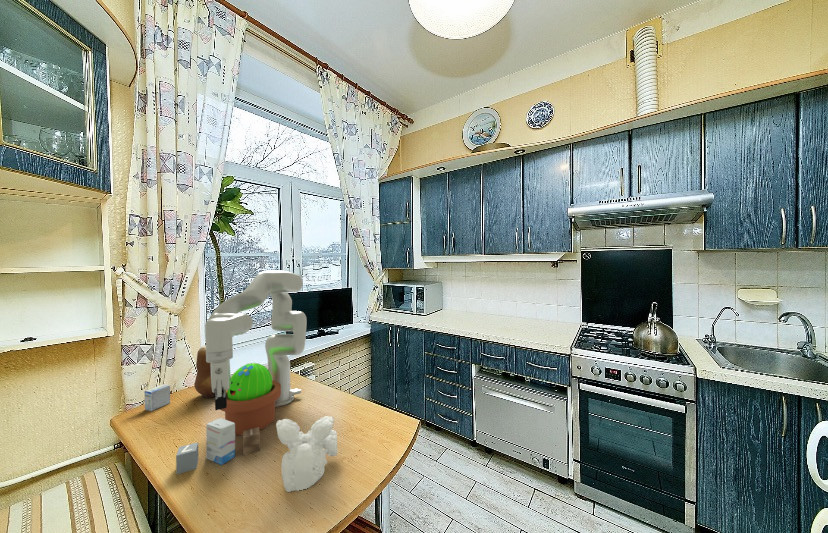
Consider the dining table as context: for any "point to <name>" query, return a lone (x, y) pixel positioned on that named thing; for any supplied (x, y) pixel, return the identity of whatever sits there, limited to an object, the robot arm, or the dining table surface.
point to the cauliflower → (305, 452)
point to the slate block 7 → (187, 458)
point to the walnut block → (251, 441)
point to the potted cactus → (251, 398)
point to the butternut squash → (203, 374)
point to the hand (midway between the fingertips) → (221, 408)
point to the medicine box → (157, 397)
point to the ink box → (220, 441)
